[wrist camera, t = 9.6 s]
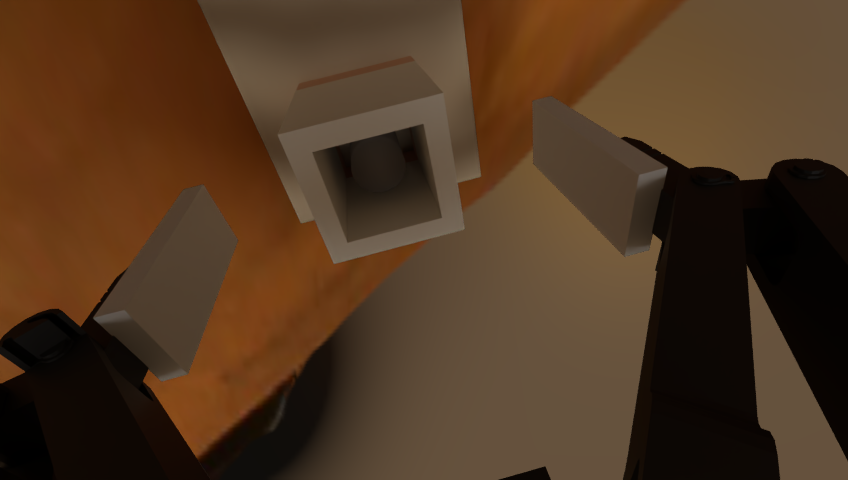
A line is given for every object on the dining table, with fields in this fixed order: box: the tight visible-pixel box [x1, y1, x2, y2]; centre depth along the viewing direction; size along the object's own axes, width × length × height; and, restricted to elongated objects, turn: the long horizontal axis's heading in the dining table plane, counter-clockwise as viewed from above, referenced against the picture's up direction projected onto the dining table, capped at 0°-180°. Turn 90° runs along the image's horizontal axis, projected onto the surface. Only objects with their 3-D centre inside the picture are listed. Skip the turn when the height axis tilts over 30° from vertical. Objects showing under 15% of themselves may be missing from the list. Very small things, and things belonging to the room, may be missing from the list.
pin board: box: [197, 0, 481, 223], centre depth 16 cm, size 22×12×8 cm, turn 11°
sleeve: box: [278, 56, 465, 264], centre depth 18 cm, size 6×6×8 cm
